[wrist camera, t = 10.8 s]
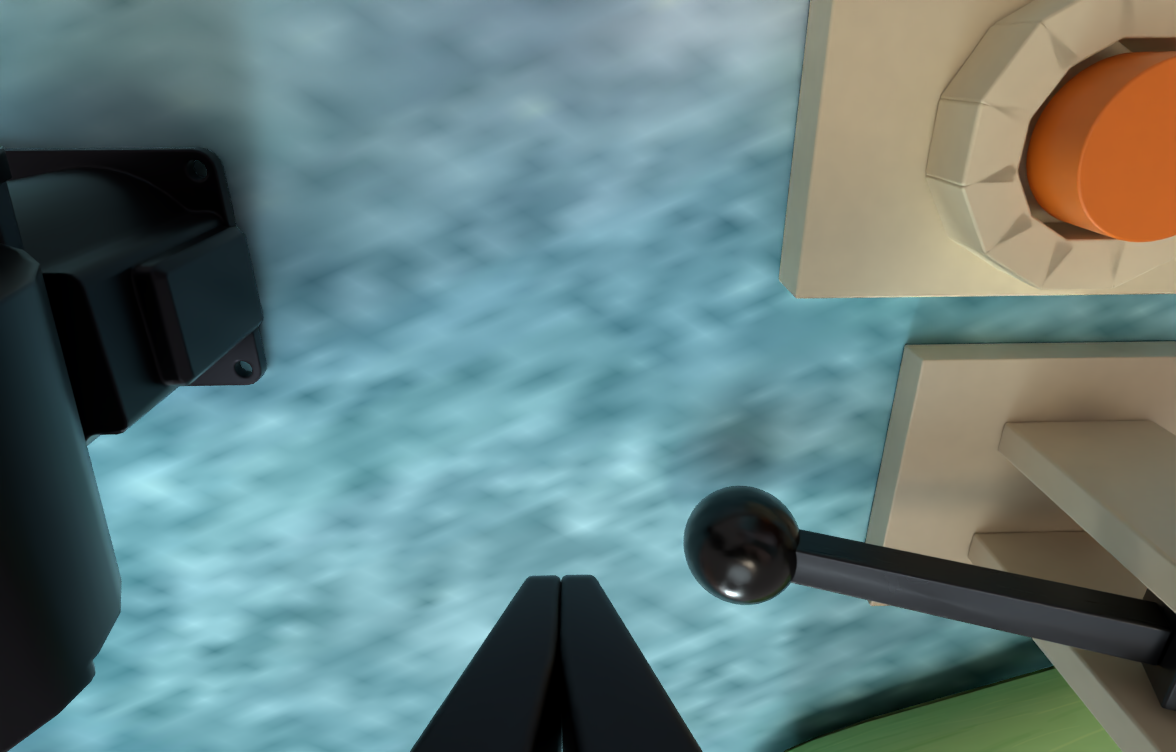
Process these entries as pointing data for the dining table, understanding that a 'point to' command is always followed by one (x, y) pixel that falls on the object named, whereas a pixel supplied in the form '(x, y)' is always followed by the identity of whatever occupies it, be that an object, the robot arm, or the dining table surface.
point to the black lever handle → (918, 584)
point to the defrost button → (1111, 148)
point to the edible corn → (981, 722)
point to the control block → (951, 150)
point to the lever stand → (1044, 486)
